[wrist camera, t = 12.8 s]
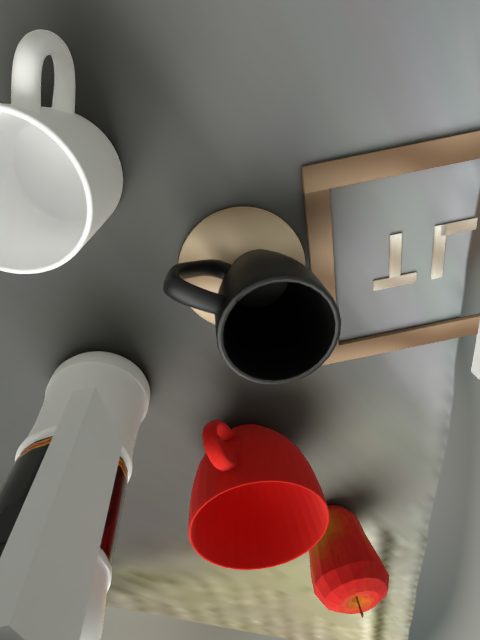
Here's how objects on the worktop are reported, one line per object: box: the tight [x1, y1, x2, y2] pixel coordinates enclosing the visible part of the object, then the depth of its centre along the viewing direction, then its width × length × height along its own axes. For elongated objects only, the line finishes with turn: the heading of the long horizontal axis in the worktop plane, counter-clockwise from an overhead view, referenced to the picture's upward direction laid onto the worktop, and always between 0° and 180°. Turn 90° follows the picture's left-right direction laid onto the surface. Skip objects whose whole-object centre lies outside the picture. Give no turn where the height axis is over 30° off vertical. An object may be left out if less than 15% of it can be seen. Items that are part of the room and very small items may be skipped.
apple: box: [309, 505, 389, 617], centre depth 45 cm, size 9×8×12 cm
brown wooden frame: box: [301, 130, 480, 365], centre depth 34 cm, size 19×21×1 cm
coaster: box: [178, 206, 305, 324], centre depth 32 cm, size 11×11×1 cm
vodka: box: [0, 351, 150, 640], centre depth 24 cm, size 9×9×30 cm
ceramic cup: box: [189, 420, 329, 570], centre depth 37 cm, size 13×17×10 cm
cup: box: [0, 29, 123, 274], centre depth 22 cm, size 8×12×10 cm
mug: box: [163, 249, 341, 385], centre depth 28 cm, size 8×12×10 cm
